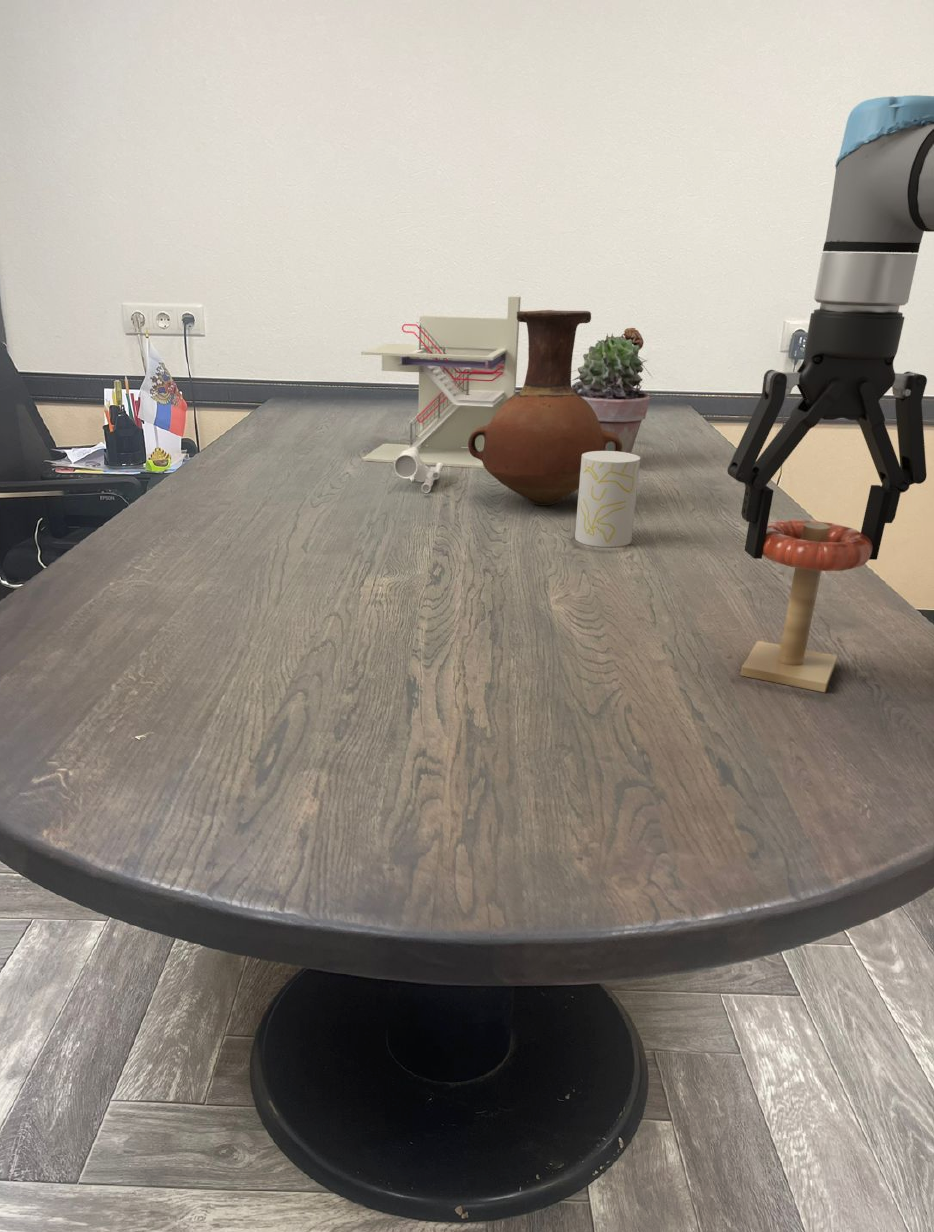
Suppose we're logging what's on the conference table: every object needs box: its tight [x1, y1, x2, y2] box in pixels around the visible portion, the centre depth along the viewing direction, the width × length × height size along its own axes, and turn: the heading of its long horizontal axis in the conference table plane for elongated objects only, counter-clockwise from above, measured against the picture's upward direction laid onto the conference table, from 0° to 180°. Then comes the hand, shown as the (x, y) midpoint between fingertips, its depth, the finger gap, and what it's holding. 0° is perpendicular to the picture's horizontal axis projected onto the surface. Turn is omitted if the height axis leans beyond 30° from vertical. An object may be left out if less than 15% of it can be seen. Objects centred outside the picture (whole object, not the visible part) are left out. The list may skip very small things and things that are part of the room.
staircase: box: [360, 296, 521, 469], centre depth 184 cm, size 28×18×30 cm, turn 76°
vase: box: [468, 309, 622, 506], centre depth 152 cm, size 25×20×30 cm
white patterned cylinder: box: [574, 451, 641, 548], centre depth 136 cm, size 8×8×12 cm
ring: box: [762, 519, 873, 572], centre depth 91 cm, size 10×10×3 cm
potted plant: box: [571, 327, 659, 454], centre depth 182 cm, size 18×20×25 cm
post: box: [740, 522, 839, 693], centre depth 93 cm, size 8×8×15 cm
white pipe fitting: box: [393, 447, 444, 494], centre depth 169 cm, size 8×14×5 cm
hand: (809, 555), depth 91 cm, fingers closed on ring, 10 cm apart
